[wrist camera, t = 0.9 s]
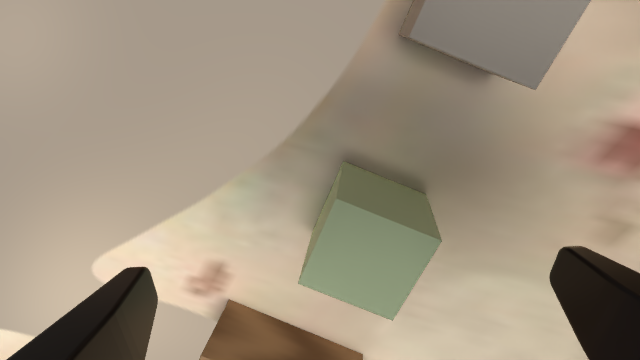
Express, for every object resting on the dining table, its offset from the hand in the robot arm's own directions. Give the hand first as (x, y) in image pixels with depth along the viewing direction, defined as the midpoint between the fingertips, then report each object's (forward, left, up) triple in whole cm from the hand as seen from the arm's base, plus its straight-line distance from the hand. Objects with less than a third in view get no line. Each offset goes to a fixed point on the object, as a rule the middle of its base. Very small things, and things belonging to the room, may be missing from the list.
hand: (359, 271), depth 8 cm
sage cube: (-2, +5, -13) cm, 14 cm away
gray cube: (-2, -7, -13) cm, 15 cm away
